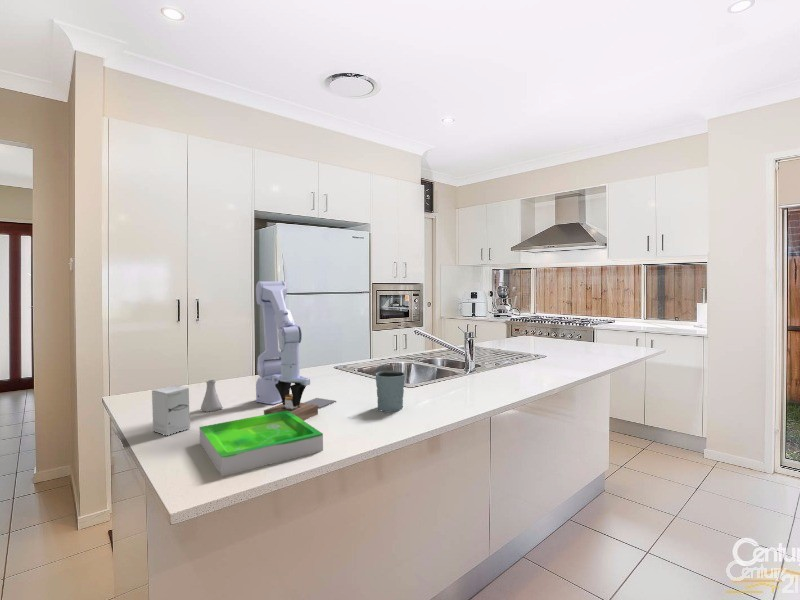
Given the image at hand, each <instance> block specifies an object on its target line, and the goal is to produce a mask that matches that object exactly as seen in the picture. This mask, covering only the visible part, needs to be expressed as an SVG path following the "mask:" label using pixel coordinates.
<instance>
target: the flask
mask: <svg viewBox="0 0 800 600" xmlns="http://www.w3.org/2000/svg"><path fill="white" fill-rule="evenodd" d="M216 382H217V381H216V379H208V380H205V383H206V389H205V394H204V397H203V400H202V403H201V405H200V408H201V409H200V411H201V410H202V411H201V412H205V411H206V412H205V413H209V411H210V412H215V411H219V410H222V409H223V408H224V406H223V405H222V403H221V401H220V398H219V396H218V393H217V390H216V389H217V388H216Z"/></svg>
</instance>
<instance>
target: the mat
mask: <svg viewBox="0 0 800 600" xmlns="http://www.w3.org/2000/svg"><path fill="white" fill-rule="evenodd" d="M334 402H335V403H337V400H333V399H328V398H327V399H326V398H320V397H315V398H312V399H309V400H307V401H305V402H303V403H307V404H313V405H318V409H322V408H325V407H327V406H329V404H330V405H332V404H334Z"/></svg>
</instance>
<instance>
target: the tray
mask: <svg viewBox="0 0 800 600" xmlns="http://www.w3.org/2000/svg"><path fill="white" fill-rule="evenodd" d="M198 429H199V444H200V445H201V447H202V448H204V449H203V451H204V452H205V451H206V454H207V456H208V458H209V459H210V461H211V462H212V464H213V466H214V467H215V468H216V470H217V471H218V473H219V475H220V476H221V477H224V476H229V475H232V474H236V473H242V472H244V471H248V470H252V469H257V468H260V466H261V467H264V465H265V466H269V465H272V464H271V463H273V464H276V463H275V462H277V463H280V462H284V461H287V460H291V459H295V458H300V457H304V456H308V455H312V454H316V453H318V452H322V451H323V452H324V435H323V434H324V433H323V432H321V431H320V430H318V429H316V428H315V427H314V426H312V425H310V424H309V423H308V422H306V420H304V421H303V420H301V419H300V418H298V417H297V416H295V415H294V414H292V413H291V412H289V411H282V412H277V413H272V414H266V415H264V414H262V415H257V416H251V417H245V418H239V419H235V420H230V421H229V420H228V421H225V422H221V423H220V422H219V423H214V424H209V425H202V426H199V428H198ZM279 461H280V462H279ZM268 464H269V465H268Z"/></svg>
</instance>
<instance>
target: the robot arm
mask: <svg viewBox="0 0 800 600" xmlns="http://www.w3.org/2000/svg"><path fill="white" fill-rule="evenodd" d="M287 292H288V288H287V283H286V282H285V281H284V280H278V281H276V280H275V281H273V280H272V281H271V280H270V281H261V280H258V282H257V283H256V286H255V298H256V304H257V305H259V306H261V310H262V321H263V322H262V323H263V324H262V325H263V338H264V341H263V342H264V351H263V352H262V353H260V354H259V355H258V356H257V363H256V365H257V366H256V369H257V375H258V376H259V377H258V378H257V380H256V383H255V392H256V396H255V397H256V399H254V402H256V403H261V404H268V405H276V404H279V403H281V404H283V405H285V395H288V394H292V396H293V405H294V407H296V406H299V405H300V403H301V401H302V400H301V399H302V396H303V393H304V392H305V389H306V387H307V386H310V385H311V378H308V377H306V376H302V375H301V373H300V371H301V370H300V368H301V367H300V344H301V342H302V339H303V338H302V335H303V334H302V328H301V326H300V325H298V323H295V322H296V321H295V320H294V319H295V318H294V317H293V314H292V311H290V310H289V309H287V304H286V301H285V299H286V296H287ZM290 391H291V392H290Z"/></svg>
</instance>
